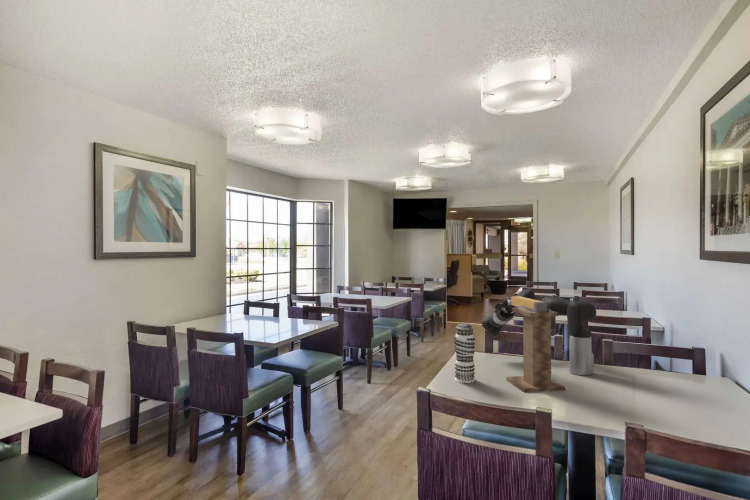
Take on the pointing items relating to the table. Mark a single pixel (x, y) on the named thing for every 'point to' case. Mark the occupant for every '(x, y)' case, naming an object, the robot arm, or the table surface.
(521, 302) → the tan rectangular block
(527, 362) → the stand
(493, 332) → the robot arm
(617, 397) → the table surface
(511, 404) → the table surface
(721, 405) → the table surface
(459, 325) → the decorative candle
